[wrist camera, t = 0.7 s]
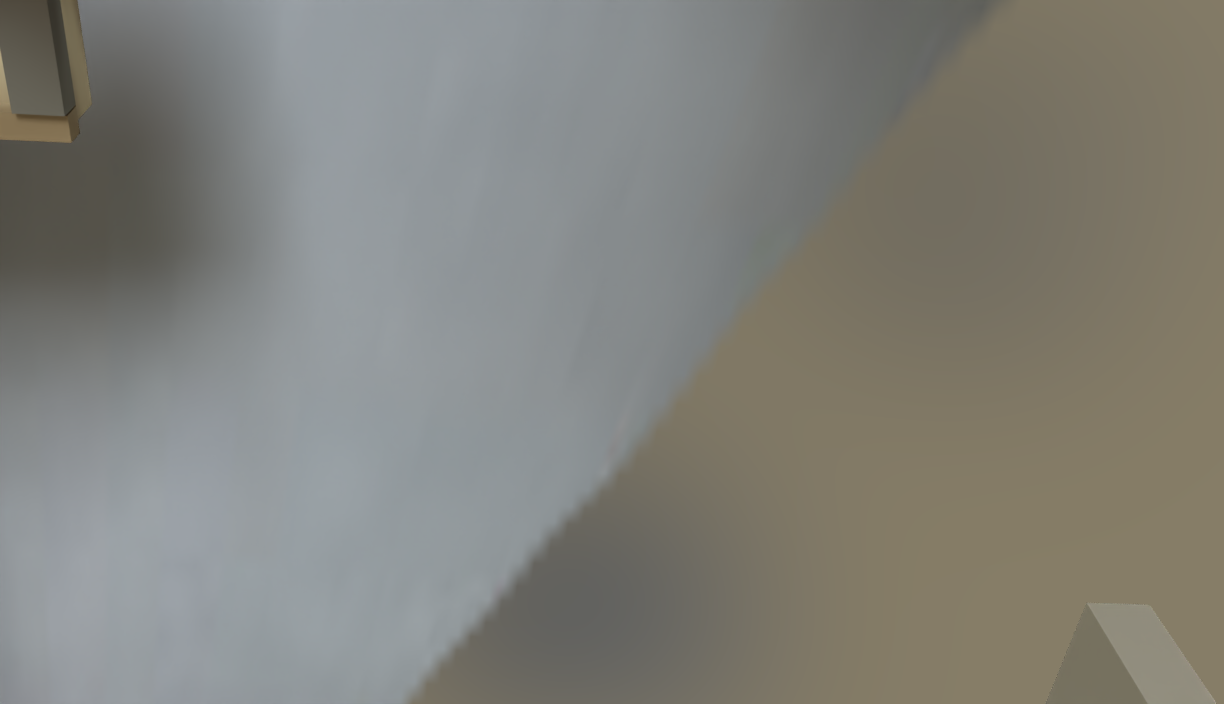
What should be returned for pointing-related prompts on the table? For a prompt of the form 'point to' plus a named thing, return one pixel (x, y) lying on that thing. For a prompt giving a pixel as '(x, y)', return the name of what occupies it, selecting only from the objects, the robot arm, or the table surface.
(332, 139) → the table surface
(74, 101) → the seesaw beam
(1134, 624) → the robot arm
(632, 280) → the table surface
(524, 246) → the table surface
